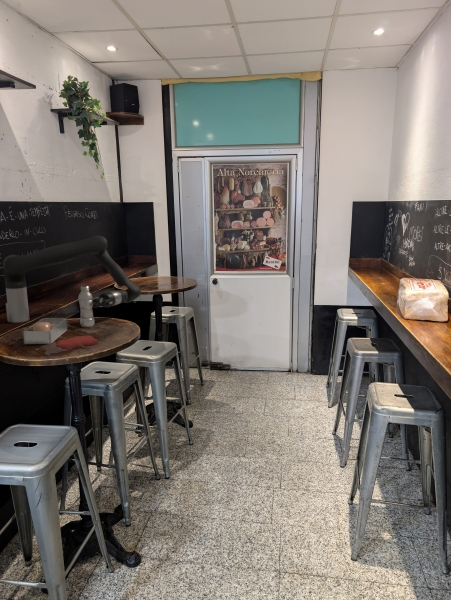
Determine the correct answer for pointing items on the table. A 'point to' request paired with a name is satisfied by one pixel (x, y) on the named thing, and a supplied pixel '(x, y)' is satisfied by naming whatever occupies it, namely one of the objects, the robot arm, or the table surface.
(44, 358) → the table surface
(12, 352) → the table surface
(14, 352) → the table surface
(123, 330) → the table surface
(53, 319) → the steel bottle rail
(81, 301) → the plastic bottle
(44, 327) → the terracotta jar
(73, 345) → the red cloth
